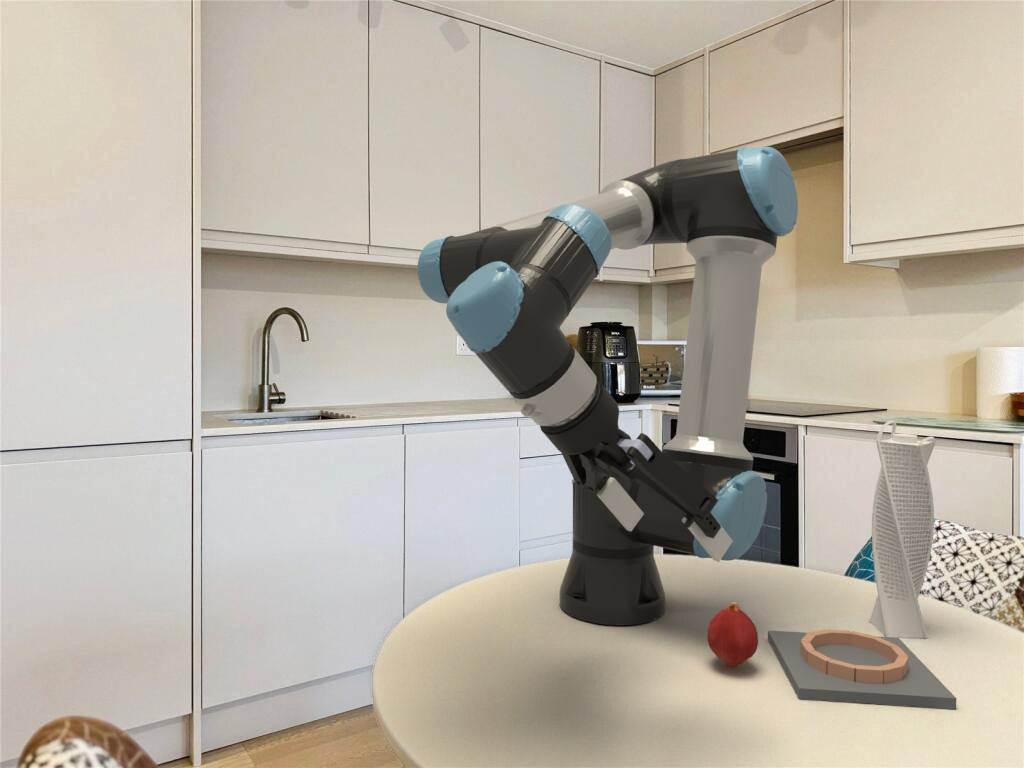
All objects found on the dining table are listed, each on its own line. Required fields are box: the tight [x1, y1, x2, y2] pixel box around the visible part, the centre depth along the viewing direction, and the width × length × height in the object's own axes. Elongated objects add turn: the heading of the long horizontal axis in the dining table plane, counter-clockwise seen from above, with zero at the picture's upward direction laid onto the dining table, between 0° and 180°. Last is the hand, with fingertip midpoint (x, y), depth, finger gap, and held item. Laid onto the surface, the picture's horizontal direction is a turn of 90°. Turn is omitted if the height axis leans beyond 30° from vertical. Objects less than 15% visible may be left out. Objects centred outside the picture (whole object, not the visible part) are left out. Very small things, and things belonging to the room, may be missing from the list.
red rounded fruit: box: [706, 601, 759, 669], centre depth 89 cm, size 6×6×8 cm
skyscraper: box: [868, 419, 936, 640], centre depth 100 cm, size 8×8×28 cm
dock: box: [767, 628, 957, 710], centre depth 88 cm, size 16×16×3 cm
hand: (676, 535), depth 82 cm, fingers open, 13 cm apart
